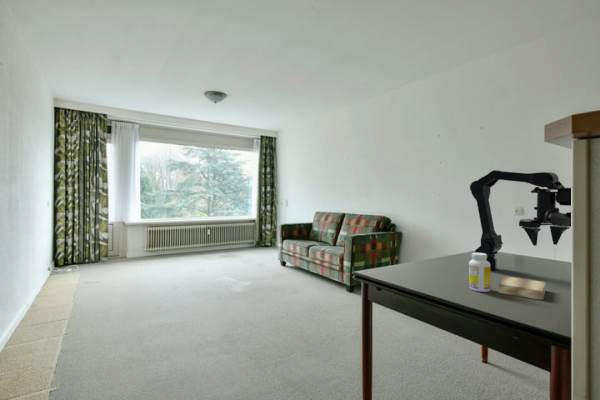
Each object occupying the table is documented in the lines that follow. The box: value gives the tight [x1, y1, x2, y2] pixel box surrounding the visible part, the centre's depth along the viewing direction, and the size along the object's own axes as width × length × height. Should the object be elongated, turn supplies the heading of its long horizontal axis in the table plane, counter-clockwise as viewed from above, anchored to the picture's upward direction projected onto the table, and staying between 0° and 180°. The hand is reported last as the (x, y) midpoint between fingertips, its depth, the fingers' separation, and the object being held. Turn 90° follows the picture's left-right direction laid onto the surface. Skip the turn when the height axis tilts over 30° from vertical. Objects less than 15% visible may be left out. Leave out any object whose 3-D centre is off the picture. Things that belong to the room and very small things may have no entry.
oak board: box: [498, 276, 547, 301], centre depth 110 cm, size 12×12×3 cm
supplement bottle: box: [468, 252, 492, 293], centre depth 113 cm, size 7×7×13 cm
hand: (545, 245), depth 123 cm, fingers open, 9 cm apart
